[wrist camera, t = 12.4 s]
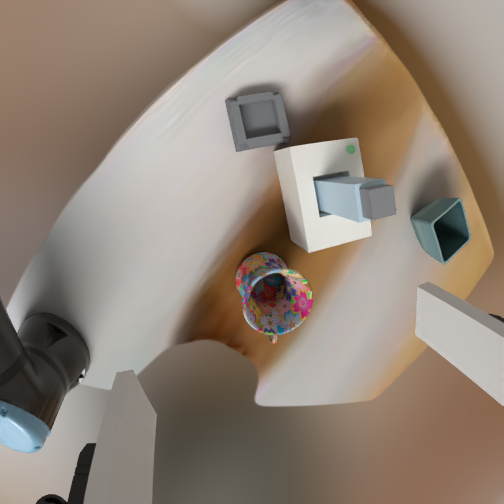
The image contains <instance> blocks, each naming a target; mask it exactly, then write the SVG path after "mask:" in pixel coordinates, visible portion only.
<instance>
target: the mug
mask: <svg viewBox="0 0 504 504" xmlns="http://www.w3.org/2000/svg"><path fill="white" fill-rule="evenodd" d="M236 286H237V289H238V291H239V293H240V294H241V296H242V297H243V302H242V309H243V314H244V316H245V319H246V320H247V322H248V323H249V325H250V326H251V327H252V328H254V329H255V330H257V331H259V332H261V333H264V334H268V335H269V339H270V342H271V343H276V342H277V340H278V335H279V334H284V333H287V332H289V331H292V330H293V329H295V328H296V327H298V326H299V325H300V324H301V323H302V322H303V321H304V320H305V319H306V317H307V316H308V314H309V312H310V310H311V307H312V302H313V294H312V289H311V286H310V284H309V282H308V281H307V279H306V278H305V277H304V276H303V275H301V274H300V273H299V272H297V271H294V270H292V269H288V268H287V266H286V264H285V262H284V261H283V260H282V259H281V258H280V257H278V256H277V255H275V254H272V253H266V252H262V253H256V254H254V255H251V256H249V257H248V258H247V259H245V260H244V261H243V262H242V264H241V265H240V267H239V268H238V271H237V274H236Z"/></svg>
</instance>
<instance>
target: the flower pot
mask: <svg viewBox="0 0 504 504" xmlns="http://www.w3.org/2000/svg"><path fill="white" fill-rule="evenodd" d="M411 222H412V224H413V227H414V230H415V233H416V236H417V238H418V240H419V243H420V244H421V246H422V248H423V249H424V250H425V251H426V253H428V254H429V255H430V256H431V257H433V258H434V259H436V260H437V261H439V262H440V263H442V264H443V265H445V264H446V263H447V262H448V261H449V260H450V259H451V258H452V257H453V256H454V255H455V254H456V253H457V252H458V251H460V249H461V248H463V247H464V246H465V245H466V244H467V243H468V242H469V240H470V239H471V234H470V230H469V226H468V223H467V219H466V214H465V210H464V207H463V203H462V200H461V198H440V199H436V200H434V201H432V202H430V203H428V204H427V205H425V206H424V207H423V208H422V209H421V210H419V211H418V212H417V213H416V214H414V215H413V216H412V217H411Z"/></svg>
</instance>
